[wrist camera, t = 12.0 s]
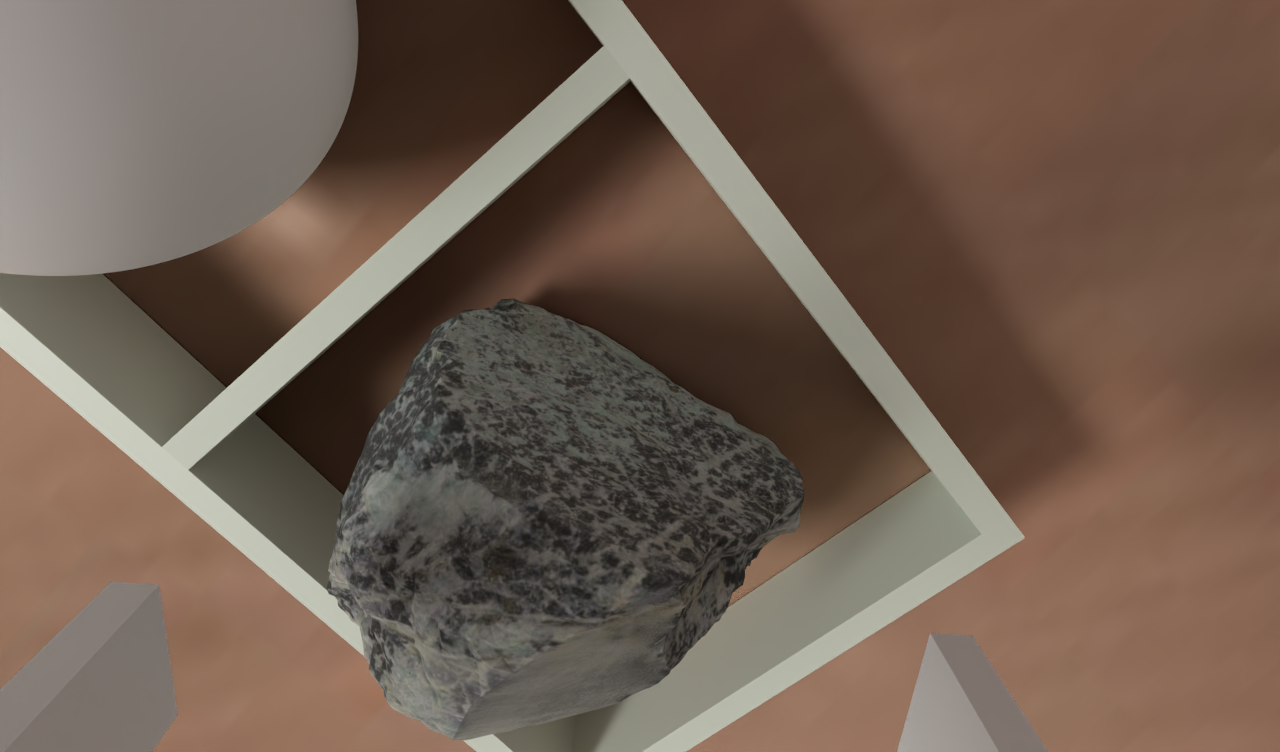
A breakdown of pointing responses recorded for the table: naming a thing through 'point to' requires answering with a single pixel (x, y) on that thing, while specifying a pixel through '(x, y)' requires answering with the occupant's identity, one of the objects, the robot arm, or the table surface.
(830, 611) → the holder
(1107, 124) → the table surface
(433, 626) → the stone
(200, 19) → the ornament
